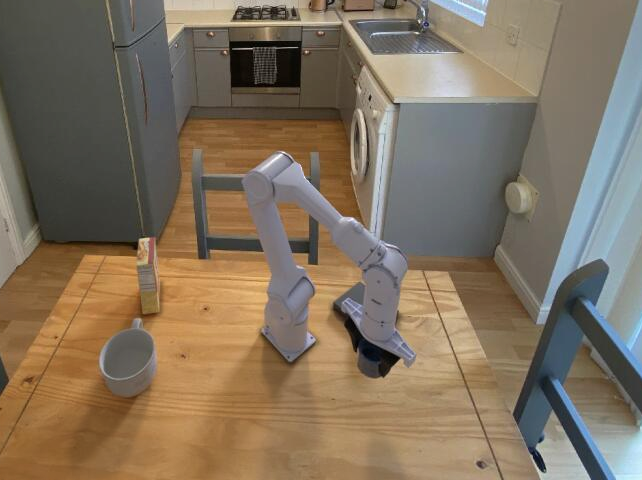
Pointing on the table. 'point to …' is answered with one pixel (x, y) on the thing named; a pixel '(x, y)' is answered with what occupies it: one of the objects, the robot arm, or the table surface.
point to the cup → (369, 358)
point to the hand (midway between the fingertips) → (371, 361)
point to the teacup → (129, 361)
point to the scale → (354, 294)
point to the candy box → (148, 275)
